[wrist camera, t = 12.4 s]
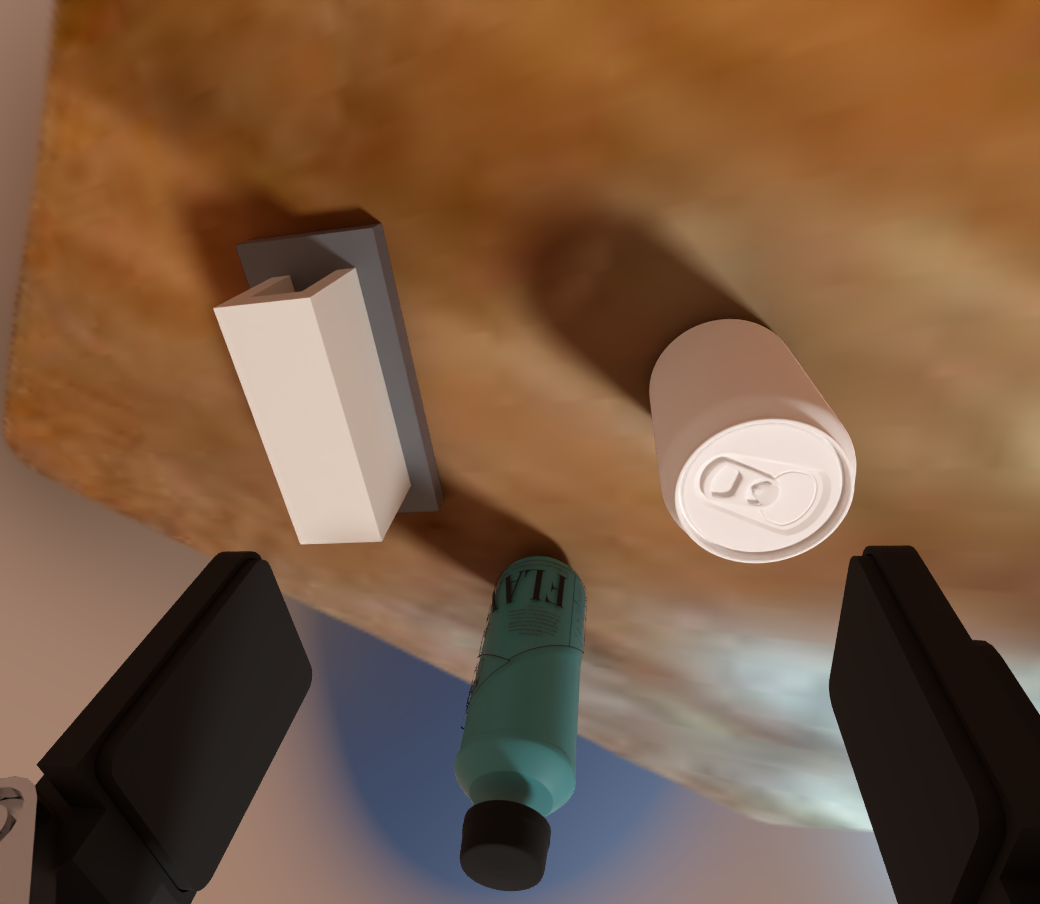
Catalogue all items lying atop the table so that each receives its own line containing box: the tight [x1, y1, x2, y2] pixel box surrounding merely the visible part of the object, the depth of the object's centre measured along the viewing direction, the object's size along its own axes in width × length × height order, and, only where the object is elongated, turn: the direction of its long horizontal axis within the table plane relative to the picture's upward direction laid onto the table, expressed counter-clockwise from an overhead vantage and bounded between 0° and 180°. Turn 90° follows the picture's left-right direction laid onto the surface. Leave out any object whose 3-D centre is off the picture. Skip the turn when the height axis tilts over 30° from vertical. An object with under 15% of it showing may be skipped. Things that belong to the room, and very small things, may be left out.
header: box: [235, 223, 444, 513], centre depth 37 cm, size 18×8×6 cm, turn 8°
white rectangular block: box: [213, 268, 411, 544], centre depth 36 cm, size 14×5×6 cm, turn 8°
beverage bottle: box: [455, 556, 587, 891], centre depth 37 cm, size 6×7×20 cm
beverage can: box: [649, 319, 856, 563], centre depth 31 cm, size 8×8×12 cm
